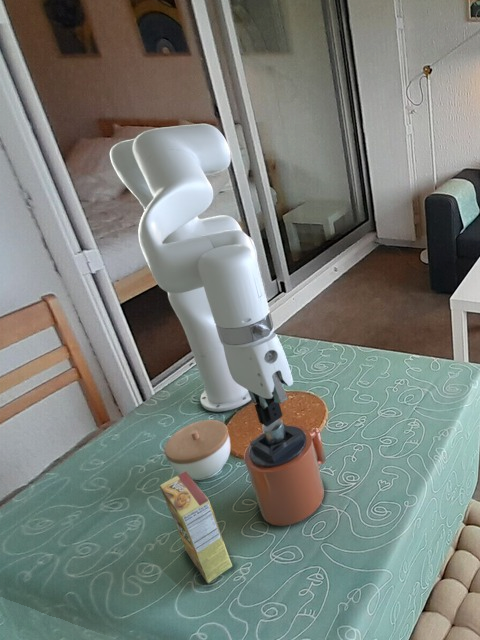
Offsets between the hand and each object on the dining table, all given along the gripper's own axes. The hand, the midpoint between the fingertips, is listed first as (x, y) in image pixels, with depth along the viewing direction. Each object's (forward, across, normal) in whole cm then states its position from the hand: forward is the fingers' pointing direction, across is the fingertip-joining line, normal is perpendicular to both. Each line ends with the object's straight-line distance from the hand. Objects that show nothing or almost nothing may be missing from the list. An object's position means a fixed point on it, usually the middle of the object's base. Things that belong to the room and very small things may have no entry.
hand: (271, 419), depth 84 cm
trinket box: (+19, +21, +4) cm, 29 cm away
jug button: (+4, 0, 0) cm, 4 cm away
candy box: (+19, +2, +15) cm, 24 cm away
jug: (+19, 0, -1) cm, 19 cm away
